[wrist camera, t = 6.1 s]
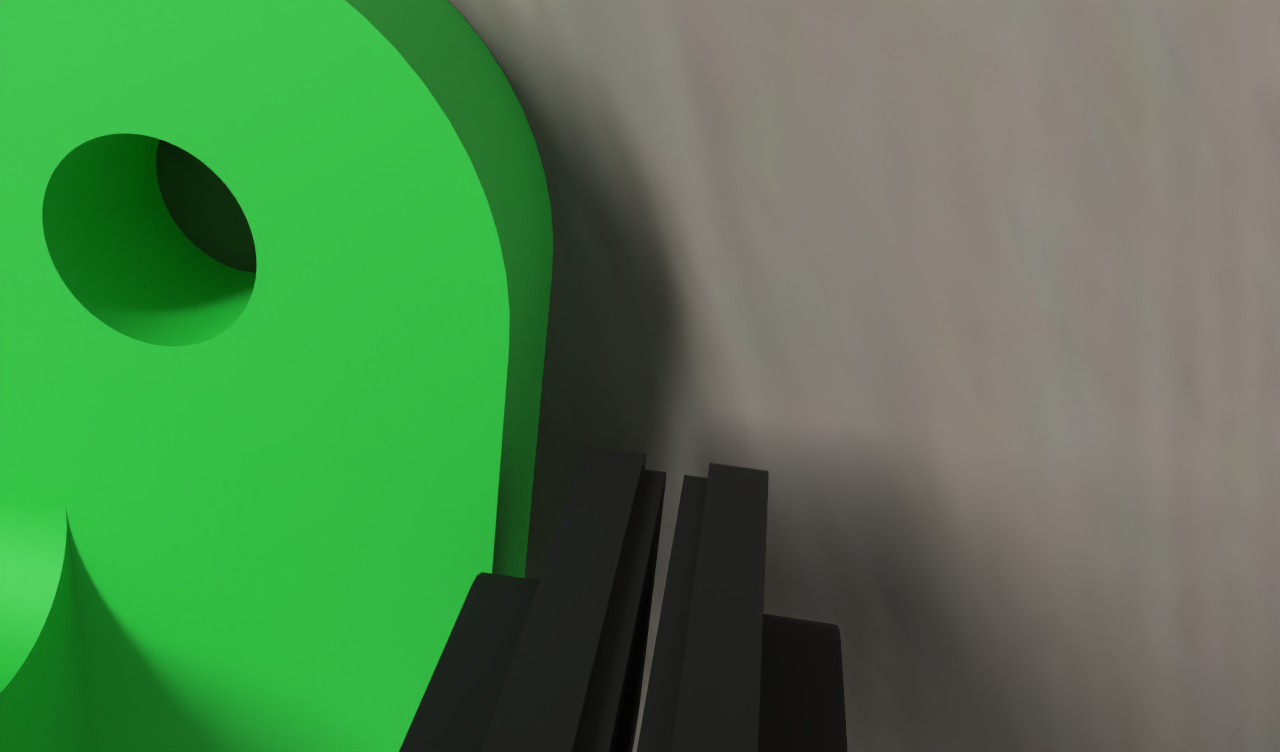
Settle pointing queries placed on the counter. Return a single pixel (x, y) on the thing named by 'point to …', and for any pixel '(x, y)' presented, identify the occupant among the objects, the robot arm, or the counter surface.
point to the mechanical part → (257, 368)
